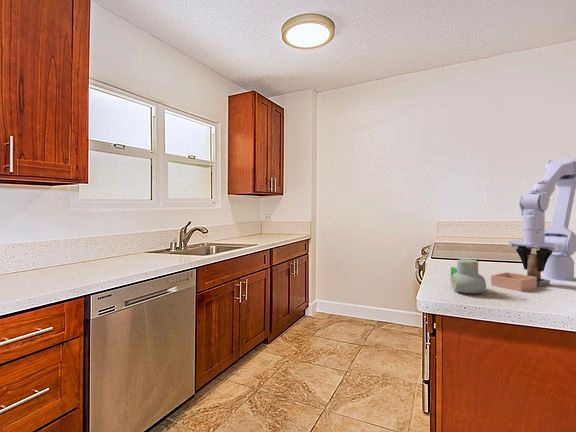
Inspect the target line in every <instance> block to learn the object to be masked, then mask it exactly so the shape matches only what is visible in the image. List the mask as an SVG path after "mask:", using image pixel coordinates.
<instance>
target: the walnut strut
mask: <svg viewBox="0 0 576 432" xmlns="http://www.w3.org/2000/svg"><path fill="white" fill-rule="evenodd" d="M541 273H542V272H539V271H538V258H537V253H531V254H527V270H526V275H527V276H534V277H537V280H540V279H542V278H541V276H542V274H541Z"/></svg>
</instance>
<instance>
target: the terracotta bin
mask: <svg viewBox="0 0 576 432" xmlns="http://www.w3.org/2000/svg"><path fill="white" fill-rule="evenodd" d="M490 282H491V283H490V284H491V285H490V286H491V287H497V288H501V289H507V290H511V291H515V292H516V291H517V292H520V293H521V292H526V291H529V290H534V289H536V288H538V287H537V277H534V276H527V274H521V273H513V272H507V271H506V272H501V273H496V274H492V275H491V276H490Z"/></svg>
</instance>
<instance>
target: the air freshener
mask: <svg viewBox="0 0 576 432" xmlns="http://www.w3.org/2000/svg"><path fill="white" fill-rule="evenodd" d="M456 269H457V273H454V274H453V275H452V276H451V275H450V285H451V287H452V289H453V290H454V291H456V292H457V291H458V292H457V293H460V294H466V295H467V294H468V295H475V294H477V295H478V294H479V293H480V294H481V293H482V292H484V291H485V290H487V289H486V288H487V281H486V278H484V276H483V275H481V274H480V273H479V261H477V260H476V259H467V258H466V259H465V258H461V259H457V261H456Z"/></svg>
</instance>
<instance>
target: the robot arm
mask: <svg viewBox="0 0 576 432" xmlns="http://www.w3.org/2000/svg"><path fill="white" fill-rule="evenodd" d="M544 166H545V167H544V169H545V174H544V177H543V178H542V179H541V180H537V181H536V182H535V184H534V185H533V186H532V188H531V189H530V190H529V192H528V193H526V194H523V195H521V197H520V198H519V203H518V204H519V209H520V212H521V217H522V218H523V219H522V223H523V225H522V226H523V227H522V233H523V235H522V238H523V239H522V240H521V241H520V240H509V241H508V246H509V247H511V248H515V251H516V253H517V254H518V256H519V258H520V259H521V262H522V266H523V270H526V271H527V254H532V249H534V250H535V249H536V250H535V252H536V253H535V254H537V258H538V271H539V272H541V273H542V272H543V275H541V279H547V280H551V281H552V280H553V281H559V282H568V281H572V280H576V277H575V261H574V259H573V257H572V256H573V255H574V254H575V253H576V233H575V232H573V230H571V229H569V225H570V222H571V221H570V220H571V214H572V209H573V205H574V199H575V194H576V157H570V158H561V159H559V158H558V159H549V160H547V161H546V163H545V165H544ZM556 186H557V192H556V197H555V202H554V206H553V212H552V218H551V222H550V226H548V227H547V228H546V227H545V226H546V224H545V223H546V220H545V219H546V217H545V216H546V213H545V212H546V211H547V210H548V208H549V205H550V201H551V199H550V197H551V196H552V195H553V193H554V191H556Z"/></svg>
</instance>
